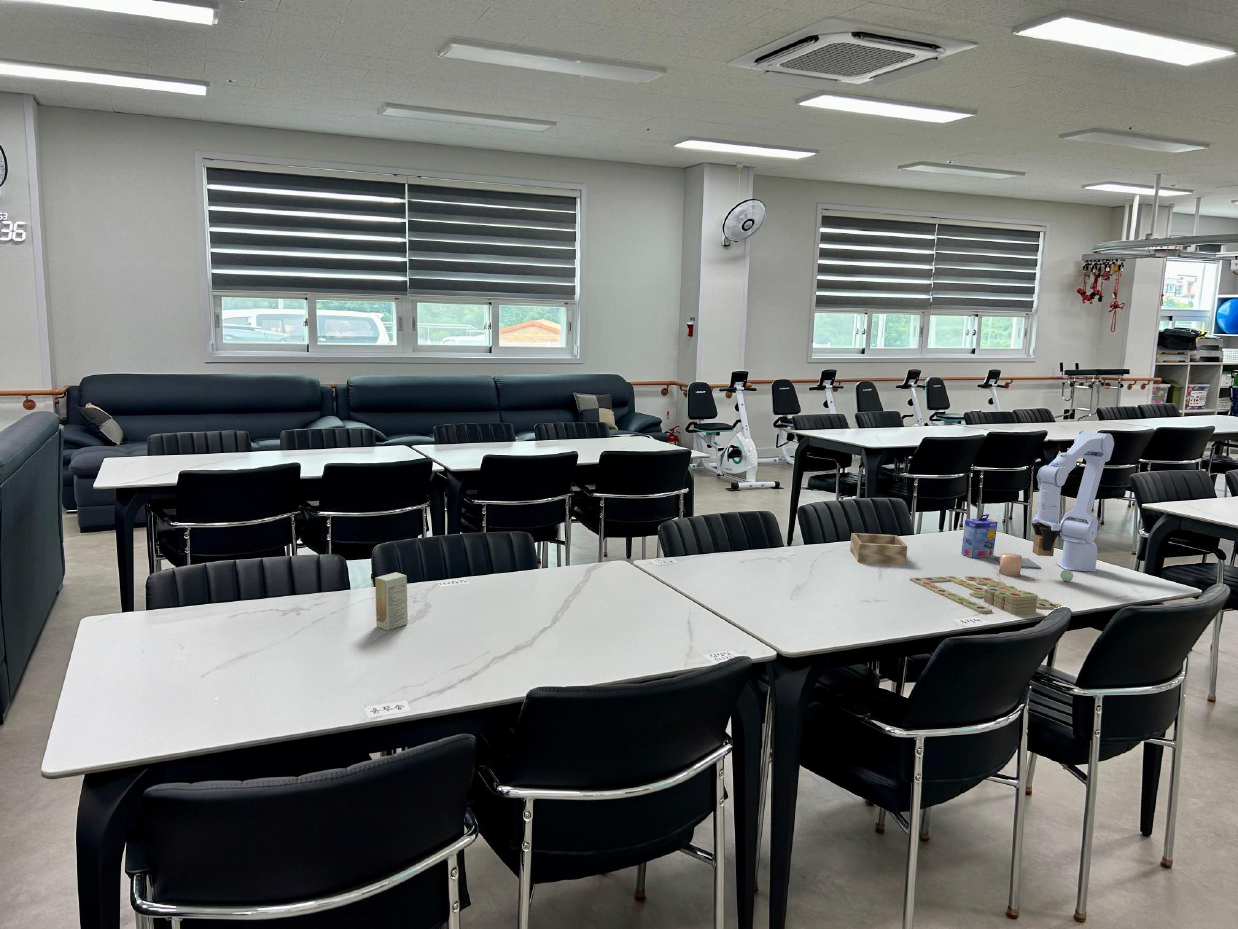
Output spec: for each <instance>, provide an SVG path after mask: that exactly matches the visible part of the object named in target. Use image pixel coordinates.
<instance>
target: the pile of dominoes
mask: <svg viewBox="0 0 1238 929" xmlns="http://www.w3.org/2000/svg"><path fill="white" fill-rule="evenodd" d="M908 581H910V582H912V583H914V584H917V585H919V586H921V587H923V588H925V589H927V590H929V591H931V592H933V593H936V594H937V595H939V596H943V597H944V598H946V599H948V600H951V601H952V602H954V603H957V604H959V605H962V607H963V606H964V607H965V608H968V609H970V610H972V611H974V612H976V613H978V614H982V615H983V614H992V613H993V609H991V608H990V607H987V606H985V605H982V604H980V603H978V602H975V601H972V600H970V599H969V598H966V597H964V596H961V595H959V594H958V593H953V592H952V591H950V590H948V589H945V588H943V587H941V586H939V585H936V584H935V583H937V584H938V583H949V582H952V583H954V584H956V585H958V586H962V587H963V588H966V589H968V590H971V591H972V592H970V593H968V594H969V596H970V597H972V598H975V599H983V602H984V603H986V604H989V605H991V606H993V607H994V608H997V609H1000V610H1002V611H1004V612H1006V613H1008V614H1010V615H1015V616H1016V615H1017V616H1018V615H1026V614H1027V615H1028V614H1036V613H1037V610H1053V609H1054V608H1058V607H1061V606H1063V605H1062V604H1061V603H1056V602H1055V603H1053V602H1052V601H1050V600H1049V599H1047V598H1041V597H1040V596H1039V595H1038V594H1037V593H1035V592H1032V591H1027V590H1021V589H1018V588H1017V587H1016V586H1014V585H1006V583H1004V581H1003V582H1002V581H995V579H993V578H992V577H985V576H975V575H974V576H973V575H965V576H964V579H962V578H959V577H957V576H955V575H953V576H952V575H950V576H949V575H948V576H947V575H946V576H928V577H926V576H925V577H909V580H908ZM971 582H974V583H971ZM982 586H985V587H982Z"/></svg>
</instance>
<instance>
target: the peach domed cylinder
mask: <svg viewBox="0 0 1238 929" xmlns="http://www.w3.org/2000/svg"><path fill="white" fill-rule="evenodd" d="M1000 557H1001V559H1000V563H999V570H998V573H999V574H1000V575H1002V576H1005V577H1011V578H1014V577H1015V578H1018V577H1020V576H1021V570H1022V568H1021V562H1022V558H1023V556H1022V555H1021V554H1017V553H1011V552H1002V553H1000Z"/></svg>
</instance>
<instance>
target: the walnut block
mask: <svg viewBox="0 0 1238 929" xmlns="http://www.w3.org/2000/svg"><path fill="white" fill-rule="evenodd" d="M1055 544H1056V542H1054V544H1053V547H1052V549H1051V551H1044V550H1043V541H1042V535H1035V534H1034V535H1033V544H1032V553H1033V554H1035V555H1036V556H1038V557H1040V556H1041V557H1042V556H1043V557H1054V554H1055V553H1054V552H1055Z"/></svg>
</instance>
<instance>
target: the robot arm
mask: <svg viewBox="0 0 1238 929" xmlns="http://www.w3.org/2000/svg"><path fill="white" fill-rule="evenodd" d="M1114 447H1115V440H1114V437H1113V435H1112V434H1111V433H1102V432H1093V431H1085V430H1080V431H1078V432H1077V433H1076V434H1075V436H1074V441H1073V445H1071V447H1070V448H1069V449H1068V451H1066V452H1061V453H1059V454H1058V455H1057V456H1056V458H1054V459H1053V460H1052V461H1051V462H1050V463H1049V464H1047V465H1046V464H1045V465H1043V466H1041V467H1040V468H1039V469H1038V472H1037V475H1036V479H1037V484H1038V485H1037V488H1038V490H1039V494H1038V504H1037V510H1036V511H1037V512H1036V513H1034V517H1033V518H1032V521H1033V522H1032V523H1031V526H1032V528H1033V531H1034V535H1042V541H1043V550H1044V551H1051V549H1052V547H1053V544H1054V542H1055V541H1056V540H1057V538H1058V536H1059V535H1060V537H1061V540H1062V541H1063V547H1062V555H1061V561H1060V562H1055V564H1056V565H1057V566H1059V567H1060V568H1062V569H1063V570H1069V571H1075V572H1076V571H1079V572H1080V571H1081V572H1095V573H1096V572H1097V570H1096V569H1097V568H1096V567H1097V559H1098V546H1097V544H1096V542H1094V541H1095V539H1096V538H1097V535H1098V526H1099V520H1098V519H1097V518H1096V516H1095V515H1093V513H1092V512H1093V511H1092V510H1093V507H1094V503H1095V500H1096V497H1097V492H1098V488H1099V485H1100V481H1101V478H1102V474H1103V472H1104V471H1103V470H1104V466H1105V463H1106V462H1109V461H1110V460H1111V457H1112V453H1113V450H1114ZM1080 458H1082V459H1084V460H1085V462H1086V464H1085V467H1084V470H1083V475H1082V478H1081V482H1080V486H1079V489H1078V491H1077V492H1078V494H1077V496H1076V500H1075V503H1074V507H1073V509H1071V510H1069V511H1067V512H1064V515H1063V518H1062V519H1061V521H1060V523H1059V519H1058V518H1059V517H1058V516H1059V508H1060V499H1061V492H1062V486H1064V485H1065V483H1066V480H1067V479H1068V477H1069V474H1070V473H1071V471H1072V470H1074V469H1075V468H1076V467H1077V460H1079V459H1080ZM1055 543H1056V542H1055ZM1054 545H1055V544H1054Z"/></svg>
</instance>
